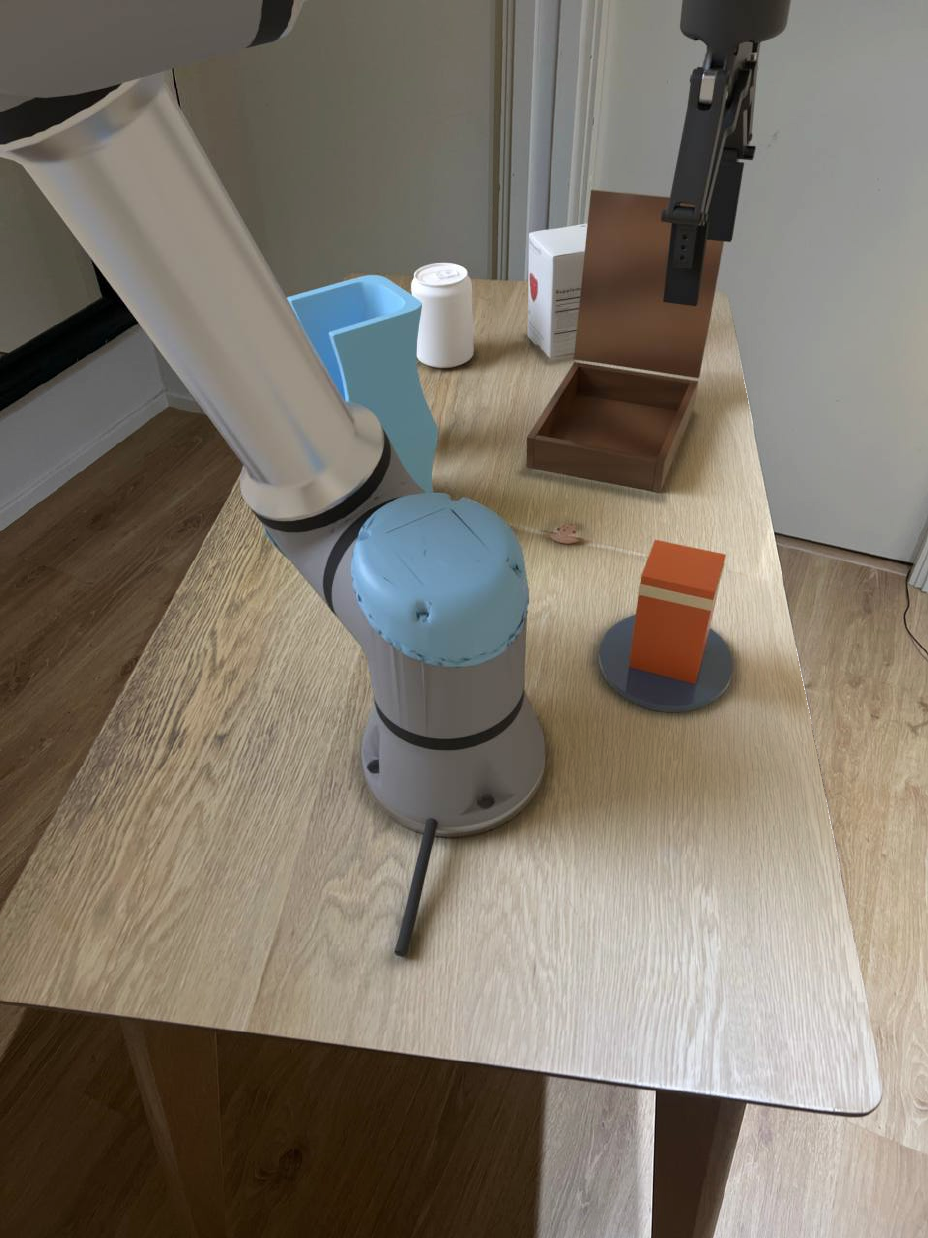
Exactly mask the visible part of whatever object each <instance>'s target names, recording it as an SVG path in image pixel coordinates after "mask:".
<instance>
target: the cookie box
mask: <svg viewBox="0 0 928 1238" xmlns="http://www.w3.org/2000/svg"><path fill="white" fill-rule="evenodd" d="M726 557H727V555H726V554H725V553H721V552H715V551H711V550H707V549H701V548H696V547H692V546H687V545H682V544H678V543H672V542H667V541H664V540H658V539H654V542H653V544H652V547H651V549H650V552H649V554H648V557H647V560H646V562H645V565H644V567H643V570H642V571H641V572H642V573H641V575H640V581H639V584H638V592H637V595H638V597H637V604H636V609H635V610H636V611H635V615H636V617H635V625H634V632H633V639H632V647H631V654H630V661H629V667H630V668H634V669H638V670H641V671H645V672H649V673H653V674H657V675H661V676H665V677H669V678H673V679H677V680H681V681H685V682H689V683H693V684H695V683H696V679H697V676H698V672H699V669H700V665H701V662H702V658H703V655H704V651H705V648H706V644H707V639H708V634H709V630H710V628H711V625H712V621H713V620H712V619H713V616H714V612H715V608H716V603H717V598H718V593H719V589H720V584H721V580H722V577H723V573H724V568H725V564H726V563H725V562H726Z"/></svg>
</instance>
